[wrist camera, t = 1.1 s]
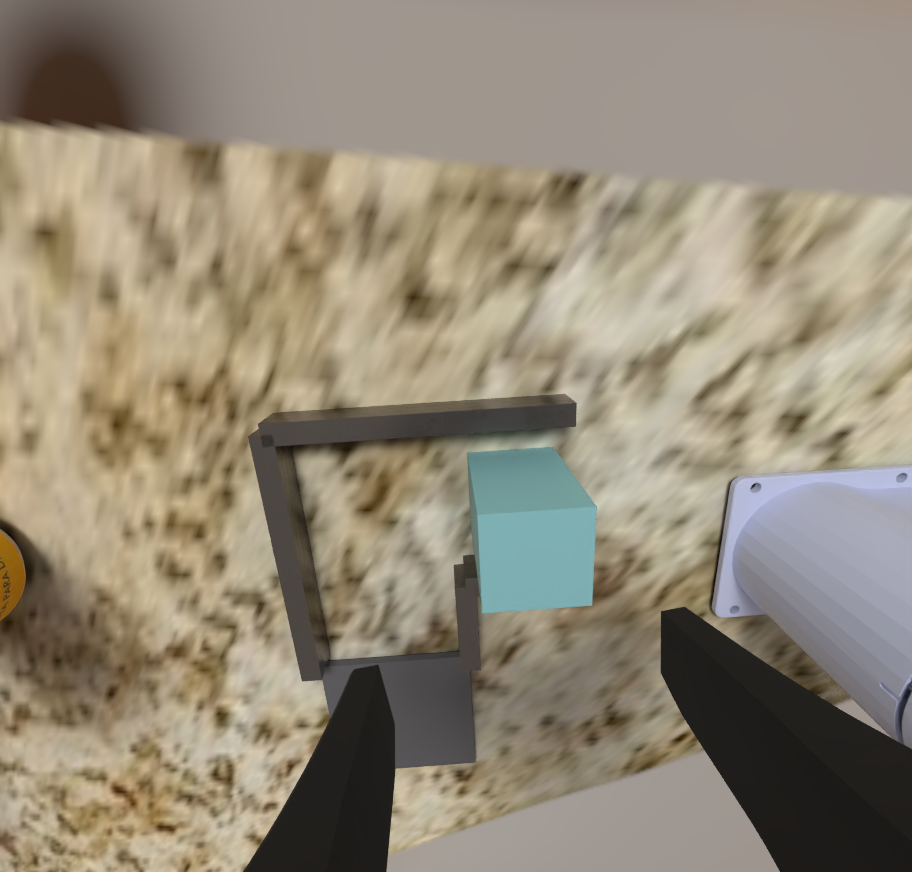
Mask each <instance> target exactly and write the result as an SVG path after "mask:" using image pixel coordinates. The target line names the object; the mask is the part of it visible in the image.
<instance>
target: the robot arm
mask: <svg viewBox="0 0 912 872" xmlns="http://www.w3.org/2000/svg"><path fill="white" fill-rule="evenodd" d="M897 476H898V477H897ZM754 483H756V484H755V487H753V488H752V489H750V488H751V486H752V485H753V484H754ZM733 606H734V607H733ZM731 607H732V608H731ZM712 610H713V612H714V613H715V614H716V615H717V616H718V617H722V618H725V617H739V616H753V615H768V616H769V617H770V618H771V619H772V620H773V621H774V622H775V623H776V624H777V625H778V626H779V627H780V628H781V629H782V630H783V631H784V632H785V633H786V634H787V635H788V636H789V637H790V638H791V639H792V640H793V641H794V642H795V643H796V644H797V645H798V646H799V647H800V648H801V649H802V650H803V651H804V652H805V653H806V654H807V655H808V656H809V657H810V658H811V659H813V660H814V661H815V662H816V663H817V664H818V665H819V666H820V667H821V668H822V669H823V670H824V671H825V672H826V673H827V674H828V675H829V676H830V677H831V678H832V679H833V680H834V681H835V682H836V683H837V684H838V685H839V686H840V687H841V688H842V689H843V690H844V691H845V692H846V693H847V694H848V695H849V696H850V697H851V698H852V699H853V700H854V701H855V702H856V703H857V704H858V705H859V706H860V707H861V708H862V709H863V710H864V711H865V712H866V713H868V715H869V716H870V717H871V718H872V719H874V721H875V722H876V723H877V724H879V726H881V727H882V728H883V729H884V730H885V731H886V732H887V733H888V734H889V735H890V736H891V737H892V738H893V739H892V738H890V737H889V736H887V735H885V734H883V733H881V732H879V731H878V730H876V729H874V728H872V727H870V726H868V725H867V724H865V723H863V722H861V721H859V720H857V719H856V718H854V717H852V716H851V715H849V714H847V713H845V712H843V711H842V710H840V709H838V708H837V707H835V706H833V705H832V704H830V703H828V702H827V701H825V700H824V699H822V698H820V697H819V696H817V695H815V694H814V693H812V692H810V691H809V690H807V689H805V688H804V687H802V686H801V685H799V684H797V683H796V682H794V681H793V680H791V679H790V678H788V677H786V676H785V675H783V674H782V673H780V672H779V671H777V670H776V669H774V668H773V667H771V666H770V665H768V664H767V663H765V662H764V661H762V660H761V659H759V658H758V657H756V656H755V655H753V654H752V653H750V652H749V651H747V650H746V649H744V648H743V647H741V646H740V645H739V644H737V643H736V642H734V641H733V640H731V639H730V638H728V637H727V636H726V635H724V634H723V633H721V632H720V631H718V630H717V629H716V628H714V627H713V626H711V625H710V624H709V623H707V622H706V621H704V620H703V619H701V618H700V617H699V616H697V615H696V614H694V613H693V612H691V611H690V610H688V609H687V608H686V607H682V608H676V609H671V610H666V611H661V674H662V676H663V678H664V680H665V682H666V684H667V686H668V688H669V690H670V692H671V694H672V696H673V698H674V700H675V702H676V704H677V706H678V708H679V710H680V712H681V713H682V715H683V717H684V719H685V720H686V722H687V723H688V725H689V727H690V728H691V730H692V731H693V733H694V734H695V736H696V737H697V739H698V741H699V742H700V744H701V745H702V747H703V748H704V750H705V751H706V753H707V755H708V756H709V758H710V759H711V761H712V762H713V764H714V765H715V767H716V768H717V770H718V771H719V773H720V774H721V776H722V778H723V779H724V781H725V782H726V784H727V785H728V787H729V788H730V790H731V791H732V793H733V795H734V796H735V798H736V799H737V801H738V802H739V804H740V805H741V807H742V808H743V810H744V811H745V813H746V814H747V816H748V818H749V819H750V820H751V822H752V824H753V825H754V827H755V829H756V831H757V832H758V834H759V836H760V837H761V839H762V840H763V842H764V844H765V845H766V847H767V849H768V851H769V853H770V854H771V856H772V858H773V860H774V862H775V863H776V865H777V867H778V869H779V871H780V872H912V464H910V465H896V466H881V467H866V468H852V469H837V470H822V471H808V472H793V473H778V474H763V475H749V476H740V477H737V478H736V479H734V480H733V481H732V483H731V485H730V491H729V497H728V504H727V511H726V517H725V524H724V530H723V537H722V543H721V550H720V556H719V563H718V569H717V576H716V582H715V589H714V595H713V602H712ZM394 780H395V722H394V719H393V715H392V711H391V708H390V704H389V701H388V697H387V693H386V690H385V686H384V683H383V679H382V675H381V672H380V668H379V665H373V666H368V667H363V668H357V669H354V670H353V671H352V672H351V674H350V676H349V679H348V681H347V683H346V686H345V688H344V690H343V692H342V695H341V697H340V699H339V701H338V703H337V706H336V708H335V710H334V712H333V714H332V716H331V718H330V720H329V723H328V725H327V727H326V729H325V731H324V733H323V735H322V737H321V739H320V741H319V743H318V745H317V747H316V748H315V750H314V752H313V754H312V756H311V758H310V760H309V762H308V764H307V766H306V768H305V770H304V772H303V773H302V775H301V777H300V779H299V780H298V782H297V784H296V786H295V788H294V789H293V791H292V793H291V795H290V796H289V798H288V800H287V802H286V804H285V805H284V807H283V809H282V811H281V812H280V814H279V816H278V817H277V819H276V821H275V822H274V824H273V826H272V827H271V829H270V831H269V832H268V834H267V835H266V837H265V839H264V840H263V842H262V843H261V845H260V847H259V848H258V850H257V851H256V853H255V854H254V856H253V857H252V859H251V861H250V862H249V864H248V865H247V867H246V868H245V870H244V871H243V872H386V869H387V858H388V847H389V836H390V826H391V815H392V803H393V792H394Z"/></svg>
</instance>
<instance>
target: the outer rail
mask: <svg viewBox="0 0 912 872" xmlns="http://www.w3.org/2000/svg"><path fill="white" fill-rule="evenodd" d="M258 427H259V429H258V430H256V431H255V432H254V433H252V434H251V435H250V436H248V438H249V443H250V447H251V452H252V456H253V461H254V465H255V470H256V474H257V479H258V483H259V488H260V493H261V497H262V502H263V506H264V511H265V515H266V520H267V524H268V529H269V533H270V538H271V543H272V547H273V552H274V556H275V561H276V565H277V570H278V574H279V579H280V583H281V588H282V592H283V597H284V602H285V606H286V611H287V615H288V620H289V624H290V629H291V633H292V638H293V642H294V647H295V652H296V656H297V661H298V665H299V670H300V674H301V679H302V681H314V680H322V678H323V675H324V672H325V669H326V665H327V662H328V659H329V656H330V648H329V643H328V638H327V632H326V627H325V622H324V617H323V611H322V606H321V601H320V595H319V590H318V585H317V580H316V574H315V569H314V564H313V558H312V553H311V548H310V542H309V537H308V532H307V527H306V521H305V516H304V511H303V505H302V500H301V495H300V490H299V484H298V479H297V474H296V468H295V463H294V458H293V453H292V447H291V445H304V444H319V443H334V442H349V441H365V440H380V439H395V438H410V437H425V436H440V435H456V434H471V433H486V432H501V431H516V430H531V429H547V428H562V427H576V402H574V401H573V400H572V399H571V398H569V397H568V396H567V395H566V394H557V395H541V396H526V397H510V398H495V399H480V400H464V401H449V402H434V403H418V404H403V405H388V406H372V407H357V408H342V409H326V410H311V411H296V412H280V413H273V414H271V415H270V416H269V417H267V418H266V419H264V420H263V421H262V422H260V423H259V424H258Z"/></svg>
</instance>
